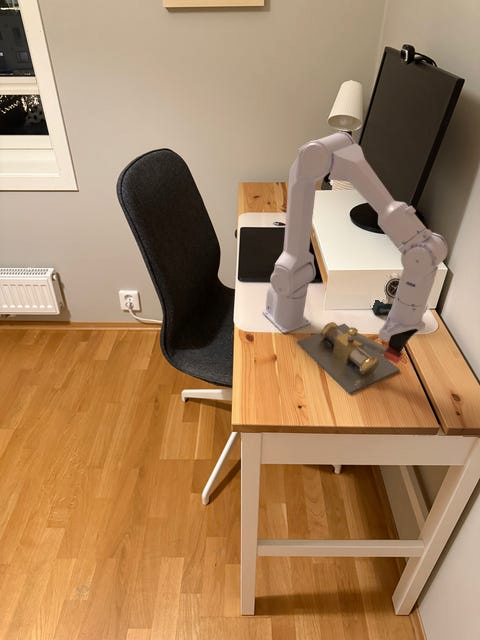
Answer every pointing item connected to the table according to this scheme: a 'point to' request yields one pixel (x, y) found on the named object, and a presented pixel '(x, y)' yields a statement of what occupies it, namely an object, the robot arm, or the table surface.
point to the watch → (387, 296)
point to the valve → (347, 358)
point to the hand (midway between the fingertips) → (393, 352)
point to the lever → (374, 345)
